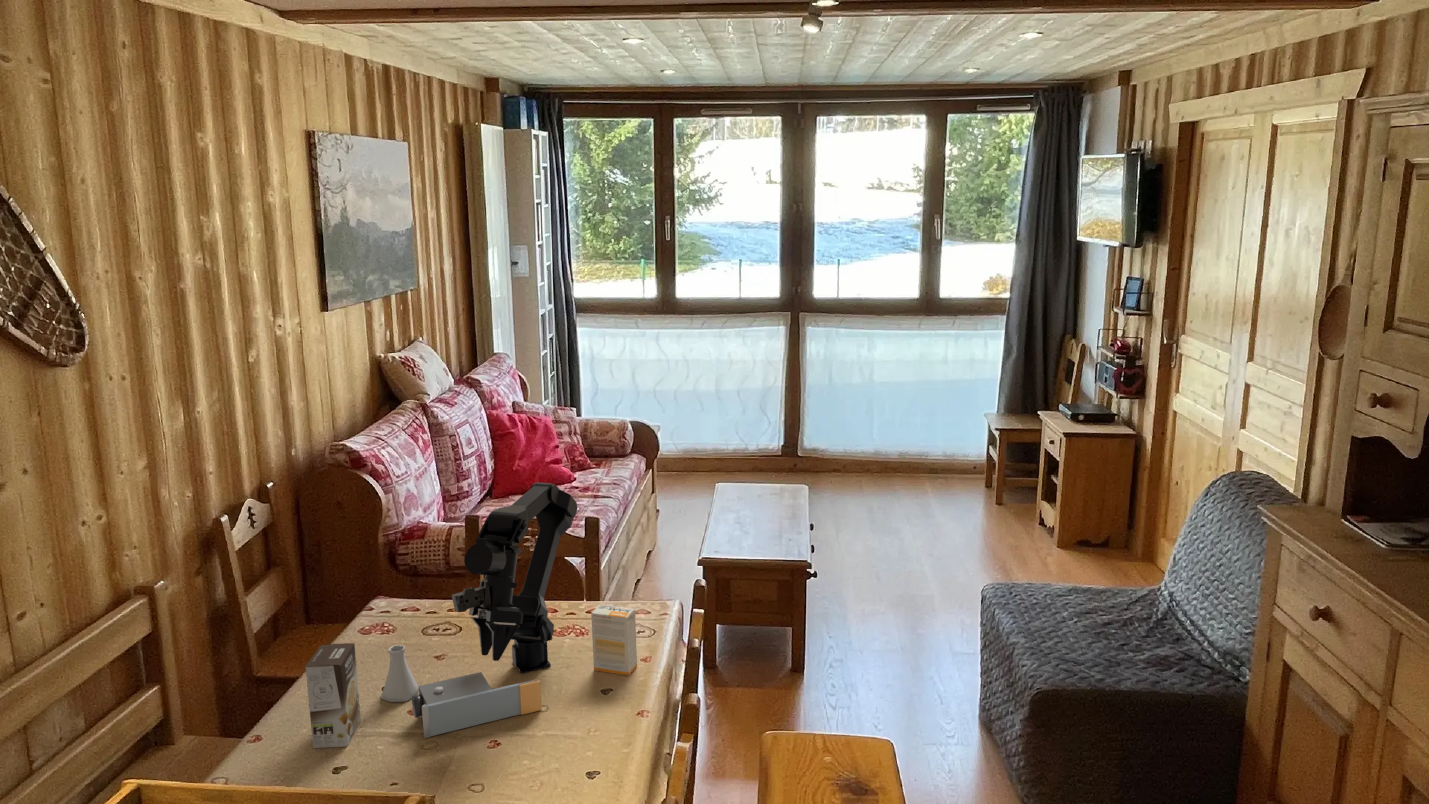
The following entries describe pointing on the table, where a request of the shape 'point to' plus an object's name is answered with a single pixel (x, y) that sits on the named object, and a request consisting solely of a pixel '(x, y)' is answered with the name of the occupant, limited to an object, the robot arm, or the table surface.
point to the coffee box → (333, 695)
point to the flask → (399, 678)
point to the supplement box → (614, 639)
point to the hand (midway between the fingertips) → (489, 657)
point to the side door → (481, 707)
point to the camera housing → (448, 690)
